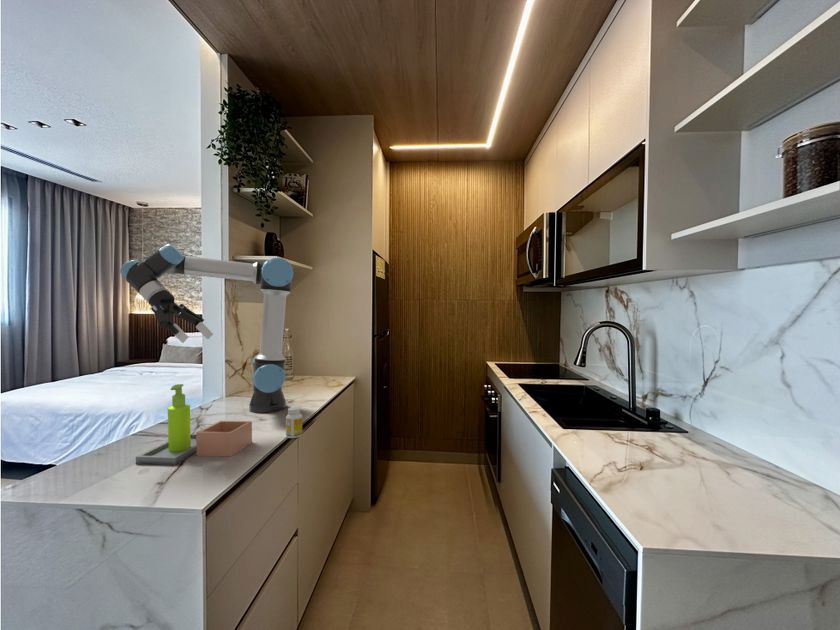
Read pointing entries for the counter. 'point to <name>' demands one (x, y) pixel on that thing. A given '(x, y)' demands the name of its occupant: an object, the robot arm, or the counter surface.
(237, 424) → the terracotta open box
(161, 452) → the grey tray
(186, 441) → the soap dispenser
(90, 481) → the counter surface
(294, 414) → the supplement bottle
